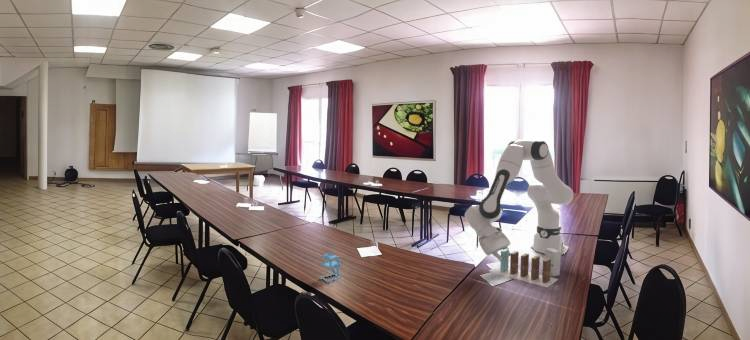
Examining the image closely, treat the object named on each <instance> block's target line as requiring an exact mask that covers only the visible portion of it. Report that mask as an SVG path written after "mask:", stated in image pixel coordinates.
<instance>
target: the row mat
mask: <svg viewBox="0 0 750 340" xmlns="http://www.w3.org/2000/svg"><path fill="white" fill-rule="evenodd" d="M500 265H501V264H499V265H497V266H495V267H493V268H491V269H489V270H488V272H490V273H493V274H497V275H501V276H504V277H508V278H512V279H515V280H519V281H521V282H527V283H530V284H533V285H536V286H540V287H544V288H549V287H550V286H552V285H553V284H554V283H556V282H557V281H558V280H559V278H554V277H553V276H550V281H549V282H547V283H542V274H540V273H539V278H537V279H536V280H531V271H528V275H527V276H525V277H520V270H521V268H518V272H517V273H515V274H514V275H513V274H510V266H509V265H508V270H506V271H504V272H502V271H500Z"/></svg>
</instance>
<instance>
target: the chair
mask: <svg viewBox="0 0 750 340" xmlns="http://www.w3.org/2000/svg"><path fill="white" fill-rule="evenodd" d="M321 258H322V261H323V262H322V263H321V267H325V268H327V269H330V270H331V272H332V274H326V275H322V276H319V279H320V278H323V277H324V276H330V275H336V274H337V276H333V278H332V279H331V278H330V279H328V278H323V279H325V280H327V281H329V282H331V281H333V280H334V279H335V278H337V277H338V276H340V277H341V271H340V268H341V267H342V263H341V262H340V260H341V256H338V255H335V254H333V253H329V252H327V253H325V254H324V255H322V256H321ZM335 259H337V261H334V260H335ZM326 260H328V262H326ZM337 279H338V278H337ZM334 281H335V280H334ZM334 281H333V282H334ZM329 282H328V283H329ZM331 283H332V282H331Z"/></svg>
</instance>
